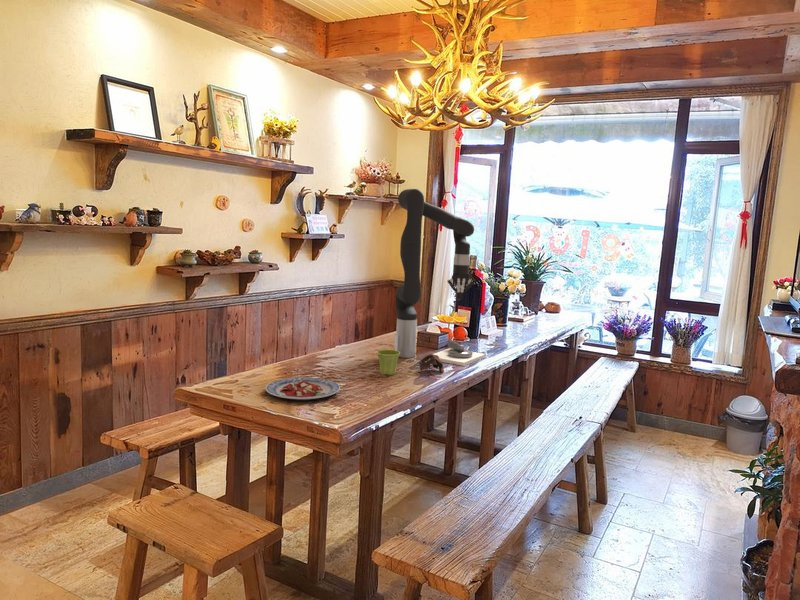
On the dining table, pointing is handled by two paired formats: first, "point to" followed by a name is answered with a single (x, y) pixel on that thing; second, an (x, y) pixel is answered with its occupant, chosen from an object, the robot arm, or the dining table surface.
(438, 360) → the brown mottled lump
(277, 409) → the dining table surface
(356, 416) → the dining table surface
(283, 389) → the ceramic plate
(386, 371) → the plant pot
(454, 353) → the dial
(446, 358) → the dial base
